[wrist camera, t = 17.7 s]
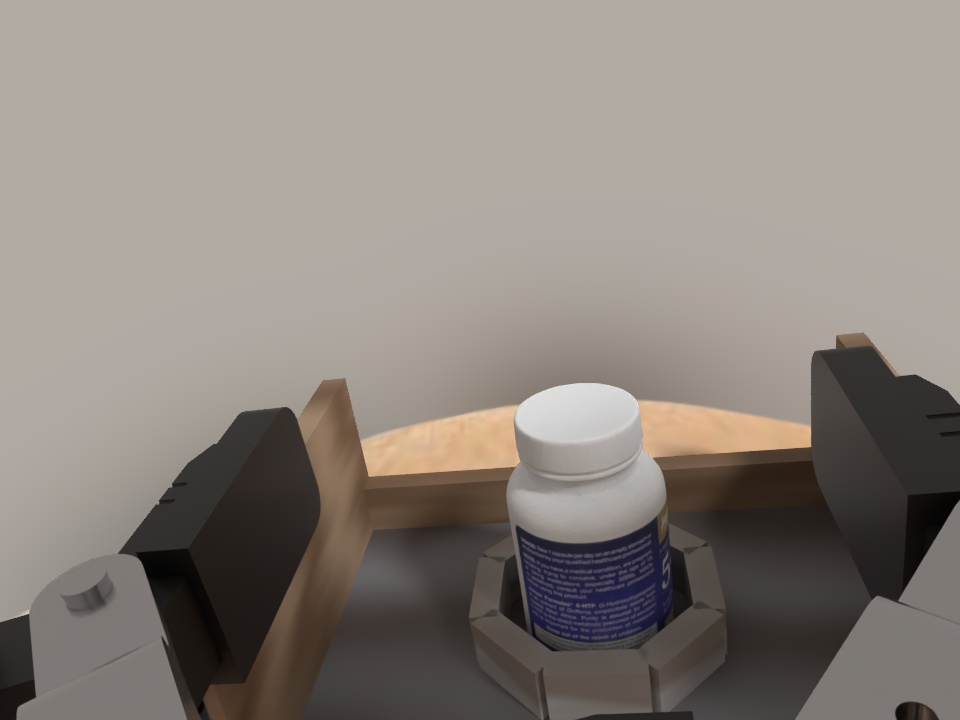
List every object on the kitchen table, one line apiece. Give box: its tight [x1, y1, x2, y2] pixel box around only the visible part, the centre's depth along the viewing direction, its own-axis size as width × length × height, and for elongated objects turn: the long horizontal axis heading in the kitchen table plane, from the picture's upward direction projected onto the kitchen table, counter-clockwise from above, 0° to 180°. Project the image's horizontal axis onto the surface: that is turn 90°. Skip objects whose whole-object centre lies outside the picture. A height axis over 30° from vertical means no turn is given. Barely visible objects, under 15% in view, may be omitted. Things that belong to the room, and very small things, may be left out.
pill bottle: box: [506, 383, 675, 651], centre depth 27 cm, size 5×5×9 cm
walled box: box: [203, 333, 899, 720], centre depth 28 cm, size 15×22×8 cm
